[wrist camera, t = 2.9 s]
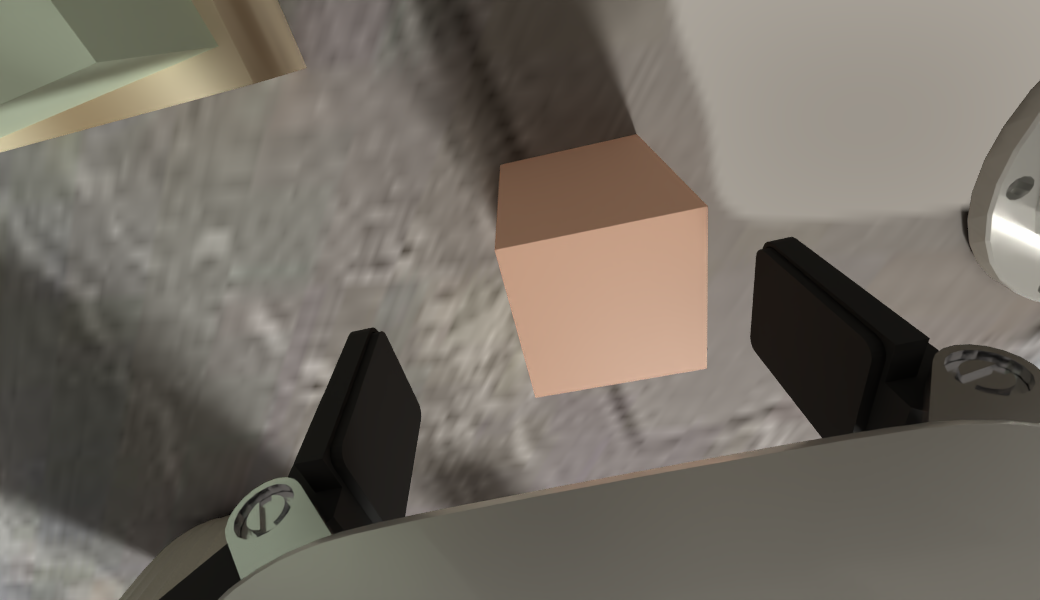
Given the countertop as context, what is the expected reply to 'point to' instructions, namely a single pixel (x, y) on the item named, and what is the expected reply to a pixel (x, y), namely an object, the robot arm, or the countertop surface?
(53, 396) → the countertop surface
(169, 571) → the canister
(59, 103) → the top block
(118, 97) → the bottom block
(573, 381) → the terracotta block
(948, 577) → the robot arm
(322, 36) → the countertop surface
